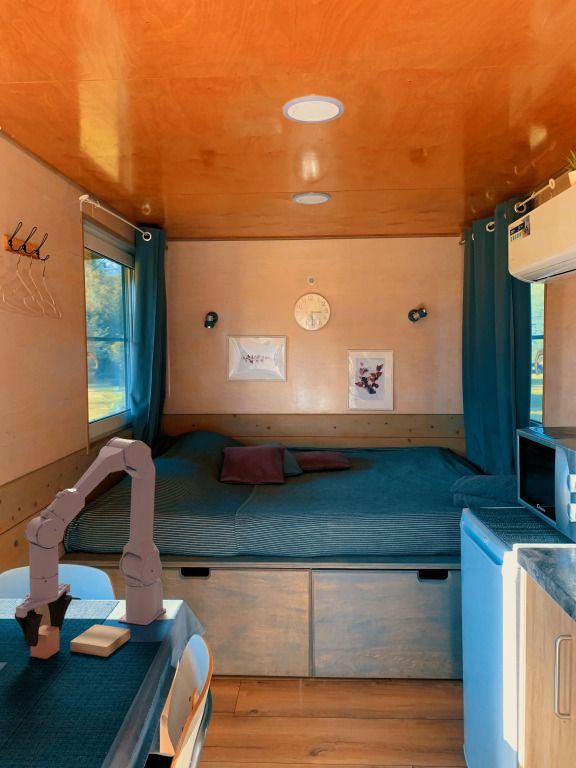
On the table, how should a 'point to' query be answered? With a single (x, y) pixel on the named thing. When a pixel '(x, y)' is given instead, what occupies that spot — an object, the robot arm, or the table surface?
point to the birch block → (100, 640)
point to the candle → (44, 615)
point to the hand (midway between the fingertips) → (44, 637)
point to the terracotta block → (46, 642)
